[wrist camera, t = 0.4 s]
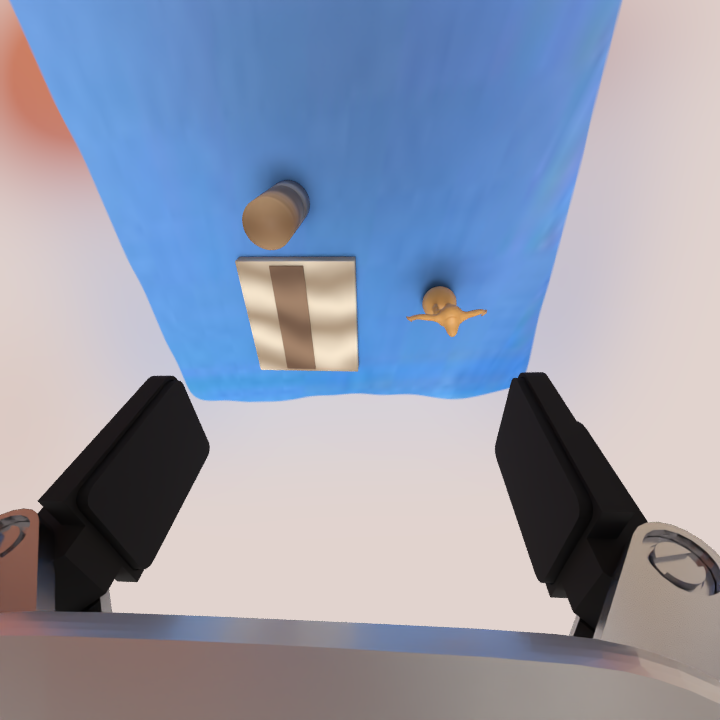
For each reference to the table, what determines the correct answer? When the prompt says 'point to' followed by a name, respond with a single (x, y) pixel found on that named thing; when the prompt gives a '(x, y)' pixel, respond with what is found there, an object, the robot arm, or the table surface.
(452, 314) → the figurine
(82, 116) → the table surface
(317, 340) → the floor board
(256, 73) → the table surface
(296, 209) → the brown cylinder
